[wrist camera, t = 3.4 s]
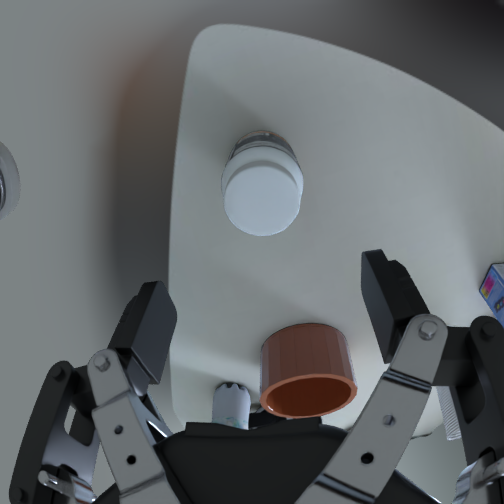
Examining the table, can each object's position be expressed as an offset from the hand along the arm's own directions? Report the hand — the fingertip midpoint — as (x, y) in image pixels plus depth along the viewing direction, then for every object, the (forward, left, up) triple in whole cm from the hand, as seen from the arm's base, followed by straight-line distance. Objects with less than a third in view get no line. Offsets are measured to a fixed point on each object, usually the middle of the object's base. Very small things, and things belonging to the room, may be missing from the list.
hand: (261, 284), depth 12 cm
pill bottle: (0, 0, -18) cm, 18 cm away
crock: (+1, -28, -17) cm, 33 cm away
